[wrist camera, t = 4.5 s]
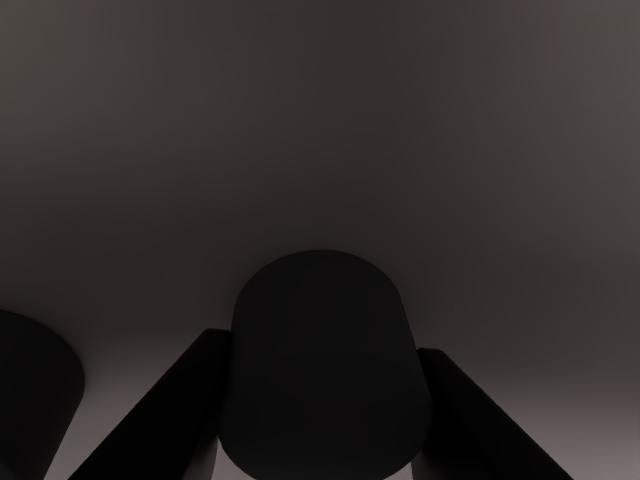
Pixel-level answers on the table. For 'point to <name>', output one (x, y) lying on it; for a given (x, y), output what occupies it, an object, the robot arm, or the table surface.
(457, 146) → the table surface
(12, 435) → the dot
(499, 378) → the table surface
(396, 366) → the dot
